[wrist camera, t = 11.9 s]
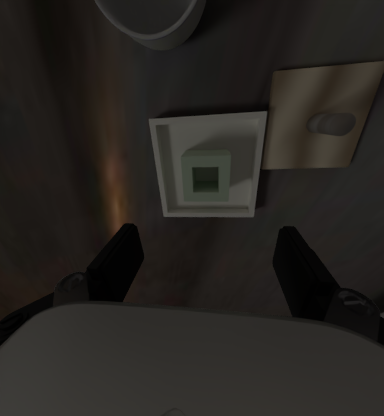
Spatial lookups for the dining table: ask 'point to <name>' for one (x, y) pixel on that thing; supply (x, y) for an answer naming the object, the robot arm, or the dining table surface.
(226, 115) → the tray
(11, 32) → the dining table surface
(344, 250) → the dining table surface
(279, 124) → the wooden peg base
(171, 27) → the teacup
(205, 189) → the green hollow square block
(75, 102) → the dining table surface
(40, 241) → the dining table surface
